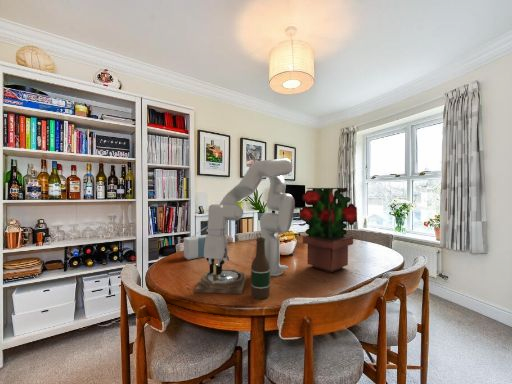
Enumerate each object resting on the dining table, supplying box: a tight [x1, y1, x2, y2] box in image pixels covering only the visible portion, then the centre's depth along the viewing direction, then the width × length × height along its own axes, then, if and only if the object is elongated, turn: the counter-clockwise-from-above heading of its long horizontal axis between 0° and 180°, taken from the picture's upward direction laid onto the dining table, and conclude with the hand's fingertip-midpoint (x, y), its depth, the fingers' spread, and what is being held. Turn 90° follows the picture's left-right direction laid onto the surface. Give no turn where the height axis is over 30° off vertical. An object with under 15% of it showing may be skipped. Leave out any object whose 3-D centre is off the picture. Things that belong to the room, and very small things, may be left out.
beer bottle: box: [250, 236, 271, 300], centre depth 101 cm, size 8×8×24 cm
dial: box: [208, 262, 238, 283], centre depth 113 cm, size 14×14×9 cm
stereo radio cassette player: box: [183, 225, 208, 261], centre depth 158 cm, size 21×8×20 cm, turn 130°
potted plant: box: [299, 187, 358, 274], centre depth 136 cm, size 22×22×45 cm
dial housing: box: [194, 268, 248, 295], centre depth 113 cm, size 20×20×4 cm
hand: (215, 273), depth 108 cm, fingers open, 3 cm apart
